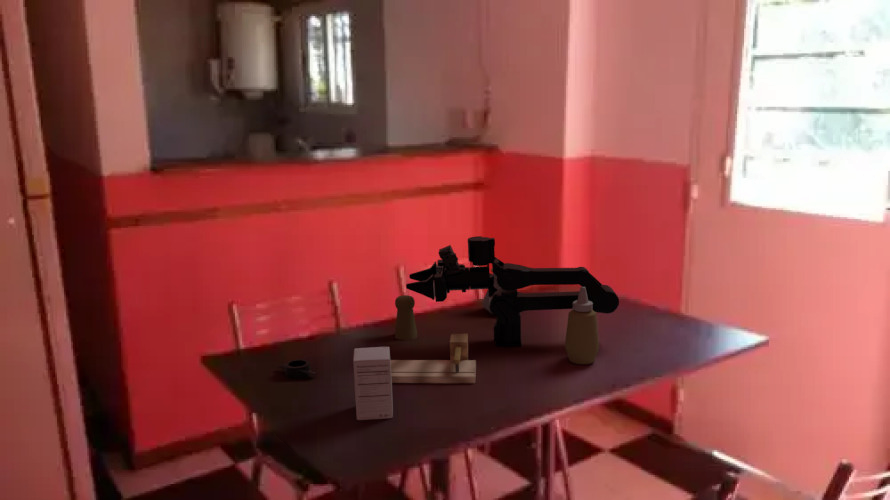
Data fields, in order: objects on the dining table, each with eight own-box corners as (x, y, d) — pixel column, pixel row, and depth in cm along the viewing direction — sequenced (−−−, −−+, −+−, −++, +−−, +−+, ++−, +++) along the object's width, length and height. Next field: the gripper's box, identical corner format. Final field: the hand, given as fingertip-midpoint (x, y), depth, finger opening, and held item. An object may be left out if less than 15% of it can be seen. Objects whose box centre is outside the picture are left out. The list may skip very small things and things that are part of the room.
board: (475, 366, 169) (475, 359, 169) (475, 383, 160) (475, 376, 159) (382, 366, 171) (382, 359, 170) (376, 382, 161) (375, 375, 161)
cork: (418, 332, 195) (417, 293, 192) (415, 340, 189) (414, 299, 186) (396, 332, 195) (395, 293, 193) (392, 339, 189) (391, 299, 187)
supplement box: (356, 405, 150) (353, 347, 147) (392, 403, 150) (390, 345, 147) (355, 421, 142) (352, 360, 140) (393, 418, 143) (390, 358, 140)
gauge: (468, 357, 176) (467, 333, 174) (466, 381, 161) (465, 355, 160) (451, 357, 176) (451, 333, 175) (448, 381, 161) (447, 355, 160)
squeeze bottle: (602, 357, 173) (604, 284, 170) (594, 368, 166) (596, 293, 163) (569, 353, 177) (570, 281, 173) (560, 364, 170) (561, 290, 166)
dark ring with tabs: (286, 385, 161) (285, 373, 160) (276, 371, 170) (275, 359, 169) (320, 379, 164) (319, 367, 164) (309, 365, 173) (308, 354, 173)
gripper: (468, 239, 190) (408, 242, 190) (467, 256, 171) (401, 259, 172) (470, 280, 192) (411, 282, 193) (469, 301, 174) (405, 303, 175)
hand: (407, 281), depth 183 cm, fingers open, 9 cm apart
